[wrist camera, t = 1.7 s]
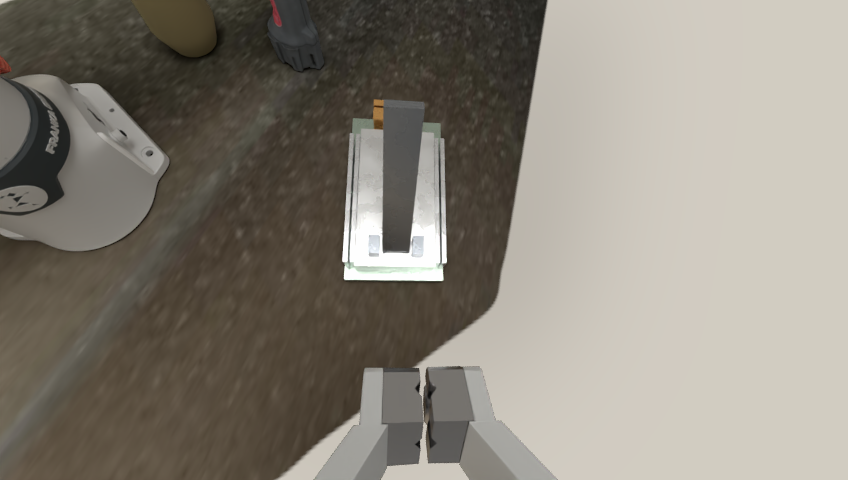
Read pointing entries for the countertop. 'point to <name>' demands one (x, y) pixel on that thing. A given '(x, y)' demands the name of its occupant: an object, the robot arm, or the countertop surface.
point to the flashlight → (294, 34)
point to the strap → (400, 171)
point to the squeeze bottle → (180, 24)
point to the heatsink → (367, 209)
